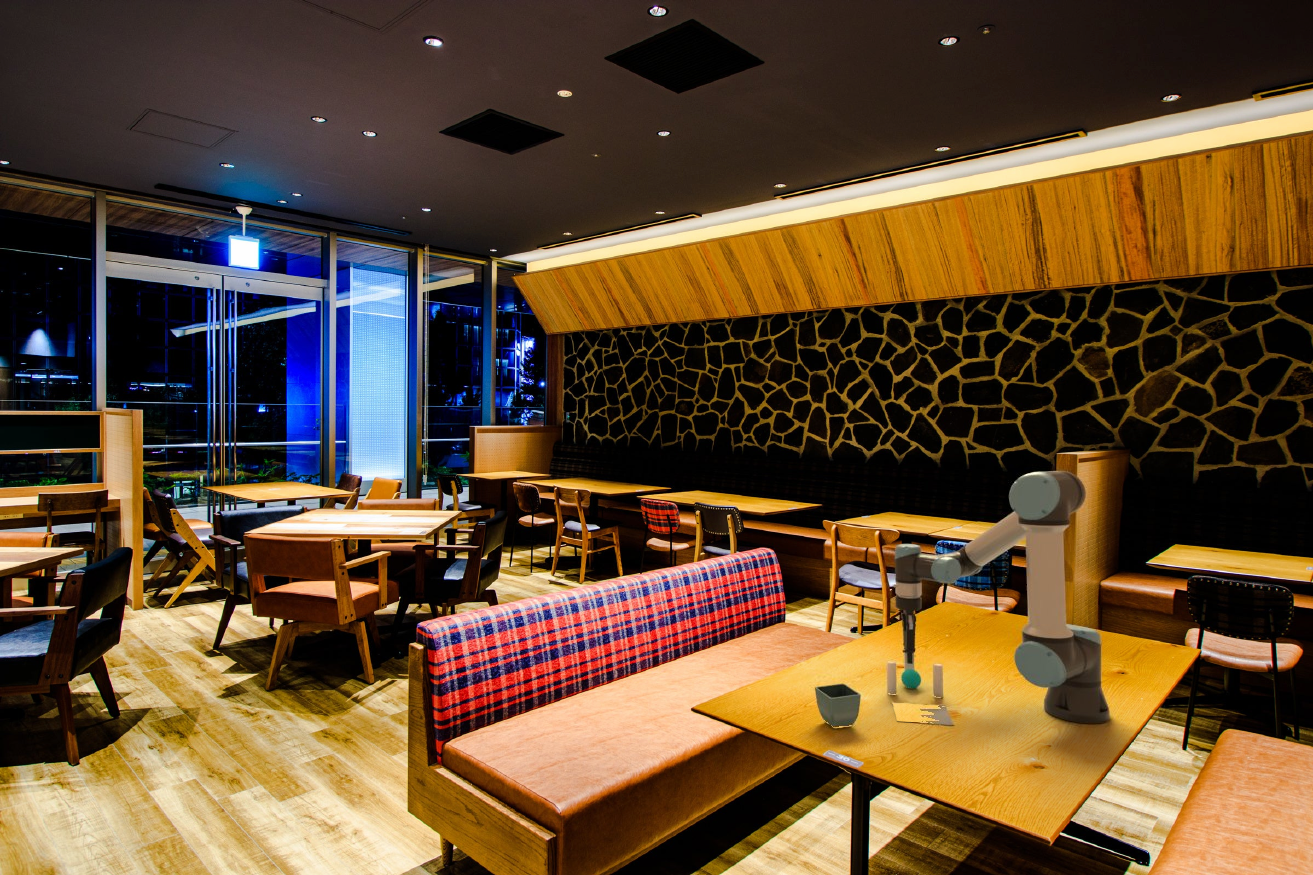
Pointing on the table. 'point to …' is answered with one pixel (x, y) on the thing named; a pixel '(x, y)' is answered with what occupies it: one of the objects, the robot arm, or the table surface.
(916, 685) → the ball
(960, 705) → the table surface
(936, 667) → the right post
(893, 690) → the left post
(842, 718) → the flower pot
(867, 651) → the table surface
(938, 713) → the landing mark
